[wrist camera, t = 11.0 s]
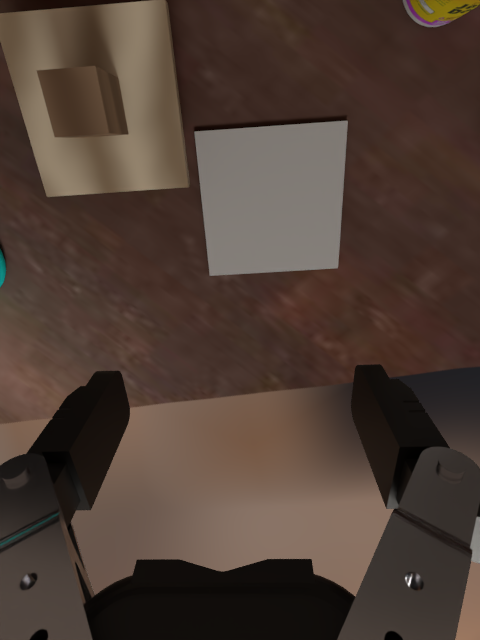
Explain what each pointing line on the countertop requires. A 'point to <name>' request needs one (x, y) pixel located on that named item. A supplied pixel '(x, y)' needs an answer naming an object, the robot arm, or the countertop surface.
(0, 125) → the countertop surface
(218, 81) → the countertop surface
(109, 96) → the lid
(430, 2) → the supplement bottle
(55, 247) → the countertop surface
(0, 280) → the donuts
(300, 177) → the mat
